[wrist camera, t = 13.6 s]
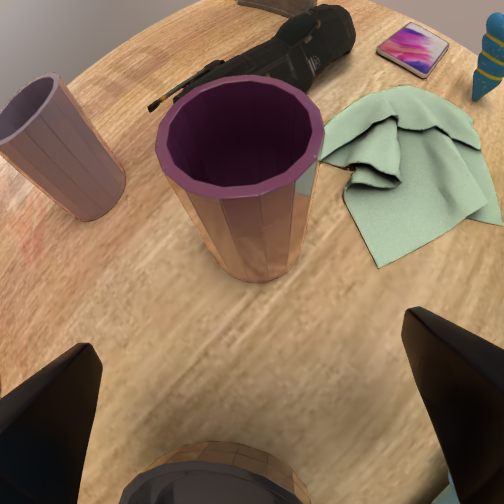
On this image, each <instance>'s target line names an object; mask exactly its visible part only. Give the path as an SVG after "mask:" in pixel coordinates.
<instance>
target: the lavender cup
mask: <svg viewBox="0 0 504 504" xmlns="http://www.w3.org/2000/svg"><path fill="white" fill-rule="evenodd" d="M0 155H1V156H2V157H3V158H4V159H5V160H6V161H8V162H9V163H10V164H11V165H12V166H13V167H14V168H15V169H16V170H17V171H19V172H20V173H21V174H22V175H23V176H24V177H25V178H27V179H28V180H29V181H30V182H31V183H32V184H34V185H35V186H36V187H37V188H38V189H39V190H41V191H42V192H43V193H44V194H45V195H47V196H48V197H49V198H50V199H51V200H53V201H54V202H55V203H56V204H57V205H59V206H60V207H61V208H62V209H64V210H65V211H66V212H67V213H69V214H70V215H71V216H73V217H75V218H76V219H78V220H81V221H91V220H95V219H97V218H99V217H101V216H103V215H104V214H106V213H107V212H108V211H109V210H110V209H112V207H113V206H114V205H115V204H116V203H117V201H118V200H119V198H120V197H121V195H122V192H123V190H124V187H125V181H126V176H125V171H124V169H123V167H122V165H121V163H120V162H119V161H118V159H117V158H116V156H115V155H114V154H113V152H112V151H111V150H110V148H109V147H108V145H107V144H106V143H105V141H104V140H103V138H102V137H101V136H100V134H99V133H98V131H97V130H96V129H95V127H94V126H93V124H92V123H91V121H90V120H89V119H88V117H87V116H86V114H85V113H84V111H83V110H82V108H81V107H80V106H79V104H78V103H77V101H76V100H75V98H74V97H73V95H72V94H71V92H70V91H69V89H68V88H67V86H66V85H65V83H64V82H63V80H62V79H61V77H60V76H59V75H58V74H57V73H55V72H52V73H46V74H43V75H41V76H39V77H37V78H35V79H33V80H32V81H30V82H29V83H28V84H26V85H25V86H23V87H22V88H21V89H20V90H19V91H18V92H17V93H16V94H15V95H13V97H11V99H10V100H9V101H8V102H7V103H6V104H5V106H4V107H3V108H2V110H1V111H0Z"/></svg>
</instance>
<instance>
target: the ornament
mask: <svg viewBox="0 0 504 504" xmlns="http://www.w3.org/2000/svg"><path fill="white" fill-rule="evenodd" d="M486 27H487V28H486V29H487V33H486V34H485V35H484V36H483V39H482V52H481V53H480V54H479V57H478V66H477V69H476V70H475V71H474V75H473V91H472V99H473V100H474V101H478V100H479V99H480V98H481V97H483V96H484V95H485V94H487V93H488V92H490V91H491V90H492V89H494V88H495V87H497V86H498V85H499V84H500V82H501V81H502V78H503V77H504V15H503V14H501V13H493V14H492V15H490V16H489V18H488V20H487V24H486Z"/></svg>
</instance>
